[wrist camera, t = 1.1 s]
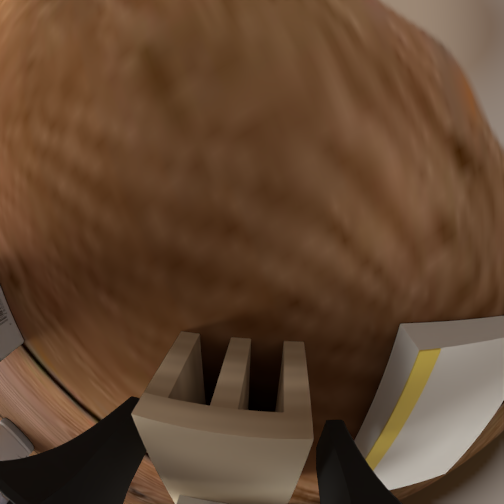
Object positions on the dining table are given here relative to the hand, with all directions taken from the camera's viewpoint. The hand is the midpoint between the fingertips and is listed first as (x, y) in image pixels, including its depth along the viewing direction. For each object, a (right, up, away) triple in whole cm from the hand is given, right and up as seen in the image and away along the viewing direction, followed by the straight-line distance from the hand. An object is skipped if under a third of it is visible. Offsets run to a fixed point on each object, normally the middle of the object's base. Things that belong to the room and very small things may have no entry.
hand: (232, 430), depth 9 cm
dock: (+11, -3, +2) cm, 12 cm away
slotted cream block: (0, -2, +3) cm, 4 cm away
